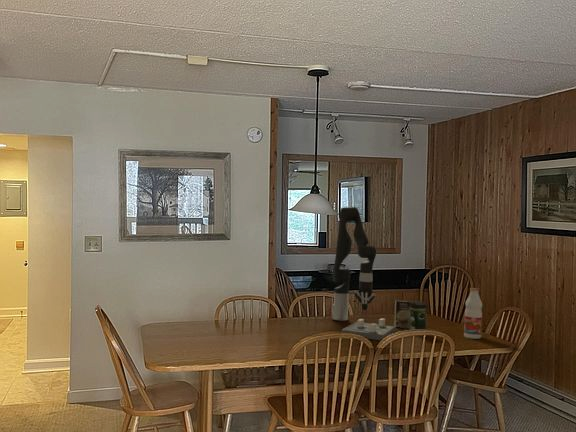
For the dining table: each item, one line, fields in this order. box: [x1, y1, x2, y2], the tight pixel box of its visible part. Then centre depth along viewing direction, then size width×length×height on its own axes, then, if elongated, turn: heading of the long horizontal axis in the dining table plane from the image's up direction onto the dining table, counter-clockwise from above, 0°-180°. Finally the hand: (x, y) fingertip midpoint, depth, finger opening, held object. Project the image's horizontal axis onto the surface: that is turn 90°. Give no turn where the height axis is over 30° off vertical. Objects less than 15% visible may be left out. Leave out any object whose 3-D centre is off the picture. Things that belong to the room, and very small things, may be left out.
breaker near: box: [369, 322, 377, 332], centre depth 317 cm, size 2×5×4 cm, turn 154°
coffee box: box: [393, 299, 412, 329], centre depth 348 cm, size 9×6×16 cm
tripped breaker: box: [356, 318, 365, 327], centre depth 329 cm, size 2×5×4 cm, turn 154°
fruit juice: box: [463, 287, 483, 340], centre depth 326 cm, size 9×9×28 cm
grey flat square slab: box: [340, 321, 396, 341], centre depth 327 cm, size 24×26×3 cm
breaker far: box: [378, 317, 386, 327], centre depth 333 cm, size 2×5×4 cm, turn 154°
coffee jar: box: [408, 300, 427, 331], centre depth 332 cm, size 10×8×19 cm
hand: (364, 310), depth 328 cm, fingers closed
